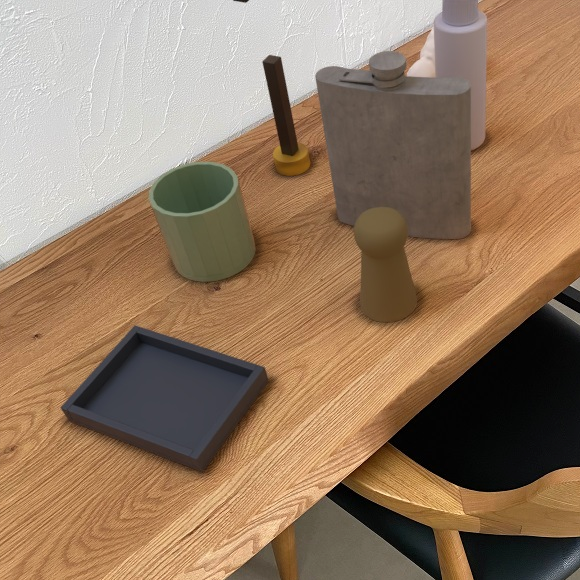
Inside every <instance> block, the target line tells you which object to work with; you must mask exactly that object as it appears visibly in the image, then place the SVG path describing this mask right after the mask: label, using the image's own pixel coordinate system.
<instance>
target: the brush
mask: <svg viewBox="0 0 580 580" xmlns="http://www.w3.org/2000/svg"><path fill="white" fill-rule="evenodd" d="M261 63H262V67H263V73H264V76H265V81H266V85H267V90H268V96H269V99H270V105H271V109H272V114H273V118H274V123H275V128H276V132H277V138H278V142H279V145H278V146H276V147H275V149H274V150H273V151H272V156H273V161H274V166H275V167H274V168H275V169H276V172H277V173H278V174H280V175H282V176H286V177H287V176H288V177H293V176H298V175H301V174H304V173H306V171H308V170H309V169H310V166H311V159H310V153H309V148H308V146H307V145H306V144H304V143H303V142H299V141H298V137H297V133H296V127H295V122H294V117H293V112H292V107H291V106H292V105H291V101H290V97H289V92H288V86H287V81H286V75H285V71H284V65H283V61H282V57H281V56H280V55H279V56H278V55H273V54H268V56H266V57H265V58H264V59H263V60H262V61H261Z"/></svg>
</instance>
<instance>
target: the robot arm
mask: <svg viewBox="0 0 580 580" xmlns="http://www.w3.org/2000/svg"><path fill="white" fill-rule="evenodd" d="M232 1H233V2H238V3H244V4H246V3H248V2H249V1H250V0H232Z"/></svg>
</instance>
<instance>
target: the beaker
mask: <svg viewBox="0 0 580 580" xmlns="http://www.w3.org/2000/svg"><path fill="white" fill-rule="evenodd" d="M148 202H149V205H150V207H151V209H152V210H151V211H152V213H153V215H154V217H155V220H156V223H157V226H158V228H159V231H160V234H161V237H162V238H163V241H164V244H165V246H166V249H167V251H168V255H169V257H170V260H171V262H172V264H173V267H174V269H175V270H176V272H177V273H178V274H179V275H180V276H182V277H184V278H186V279H188V280H190V281H195V282H198V283H199V282H201V283H209V282H210V283H211V282H212V283H213V282H218V281H222V280H226V279H229V278H231V277H234V276H235V275H237V274H239V273H240V272H241V271H244V270H245V269H246V268H247V267H248V266H249V265H250V263H251V262H252V261H253V259H254V257H255V256H256V255H255V254H256V251H257V250H256V248H257V246H256V242H255V237H254V232H253V229H252V226H251V221H250V218H249V213H248V210H247V206H246V204H245V199H244V196H243V191H242V189H241V184H240V181H239V177H238V175H237V174H236V172H235V171H234V170H233V169H232V167H229V166H228V165H225V164H224V163H219V162H216V161H195V162H189V163H184V164H181V165H178V166H176V167H173V168H171V169H169V170H167V171H166V172H164V173H163V174H161V175H160V176H158V177H157V179H156V180H155V181H153V183H152V184H151V187H150V189H149V190H148Z"/></svg>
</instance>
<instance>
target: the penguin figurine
mask: <svg viewBox="0 0 580 580" xmlns="http://www.w3.org/2000/svg"><path fill="white" fill-rule="evenodd" d="M406 76H410V77H434V78H436V77H435V49H434V25H433V26H432V27H431V30H430V32H429V33H428V35H427V37H426V40H425V42H424V45H423V46H422V47H421V49H420V52H419V59H418V60H416V61H415V62H414V63H413V64H412V65H411V67H410V68H408V71H407V73H406Z"/></svg>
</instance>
